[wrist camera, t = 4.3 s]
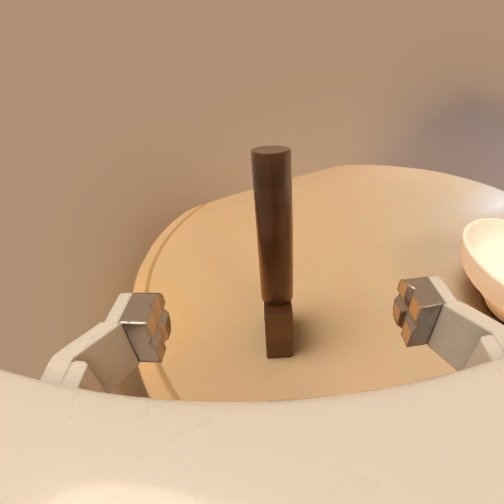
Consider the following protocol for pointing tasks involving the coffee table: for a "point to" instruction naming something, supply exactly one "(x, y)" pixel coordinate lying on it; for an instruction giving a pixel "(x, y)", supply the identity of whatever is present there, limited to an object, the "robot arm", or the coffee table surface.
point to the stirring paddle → (275, 243)
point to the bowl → (485, 260)
